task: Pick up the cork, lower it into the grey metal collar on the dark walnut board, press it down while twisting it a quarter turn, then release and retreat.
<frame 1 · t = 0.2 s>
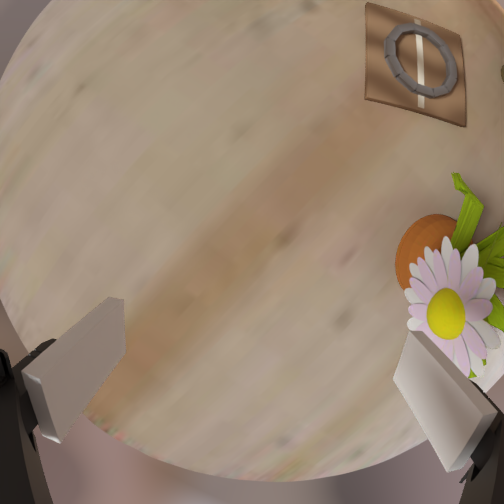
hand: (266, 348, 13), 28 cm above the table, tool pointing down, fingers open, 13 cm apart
socket board: (416, 63, 35), on the table
decorative plant: (439, 265, 41), on the table
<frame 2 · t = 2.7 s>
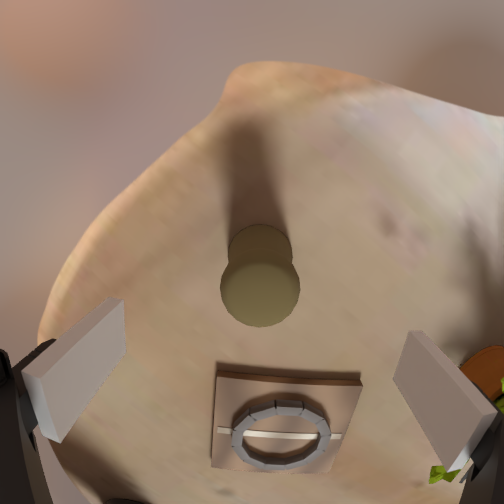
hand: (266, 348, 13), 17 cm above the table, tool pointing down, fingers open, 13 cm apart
socket board: (280, 428, 34), on the table
cork: (260, 256, 30), on the table
decorative plant: (485, 377, 33), on the table
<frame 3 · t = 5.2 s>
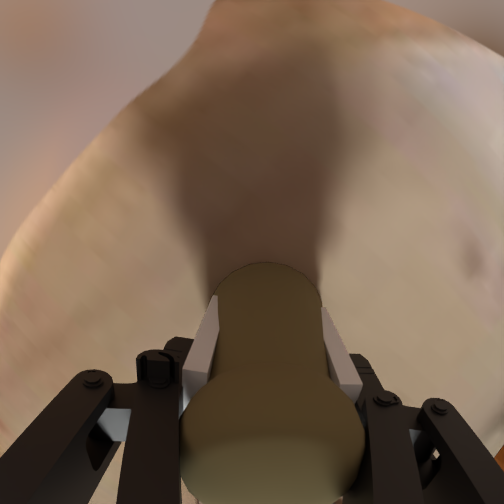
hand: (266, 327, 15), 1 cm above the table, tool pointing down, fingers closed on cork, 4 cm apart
cork: (266, 316, 17), on the table, touching gripper
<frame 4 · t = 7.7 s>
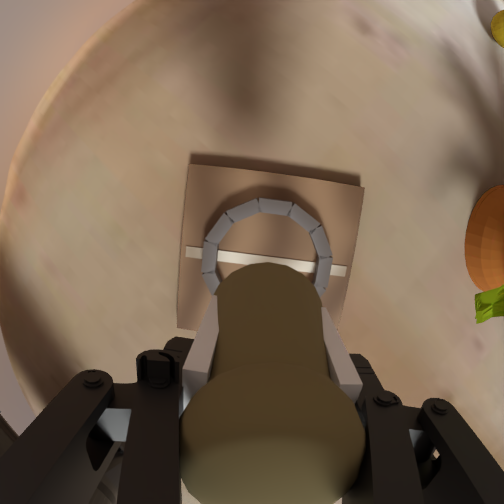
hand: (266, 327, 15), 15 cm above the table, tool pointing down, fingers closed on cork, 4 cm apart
socket board: (266, 258, 30), on the table
lemon: (494, 39, 24), on the table
cork: (265, 316, 17), point 14 cm above the table, touching gripper
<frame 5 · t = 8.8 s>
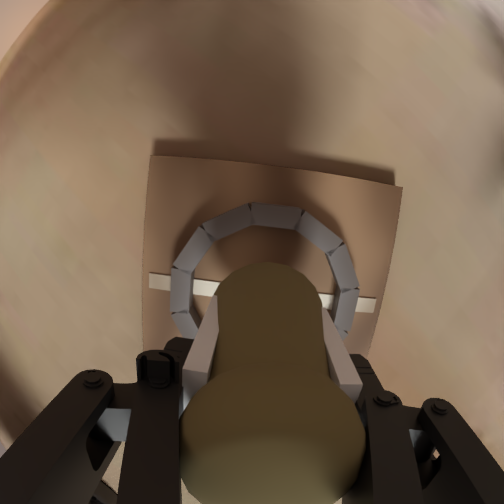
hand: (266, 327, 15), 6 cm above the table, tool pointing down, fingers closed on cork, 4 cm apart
socket board: (263, 288, 21), on the table
cork: (266, 316, 17), point 5 cm above the table, touching gripper
when the fingers open (3 cm above the table, at t = 10.0 s): cork stays where it is, resting on socket board.
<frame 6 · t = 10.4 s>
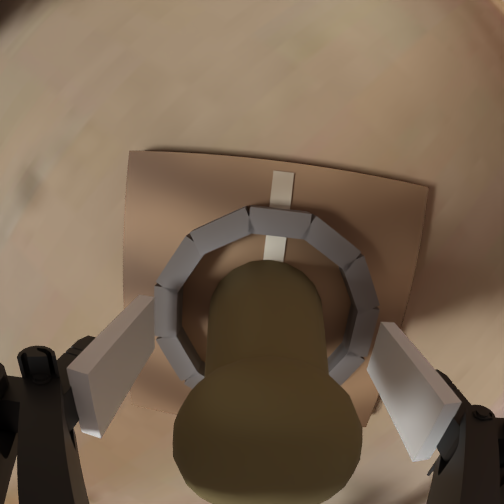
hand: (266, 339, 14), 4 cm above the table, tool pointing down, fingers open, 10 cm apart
socket board: (265, 307, 18), on the table
cork: (265, 313, 17), point 1 cm above the table, touching socket board
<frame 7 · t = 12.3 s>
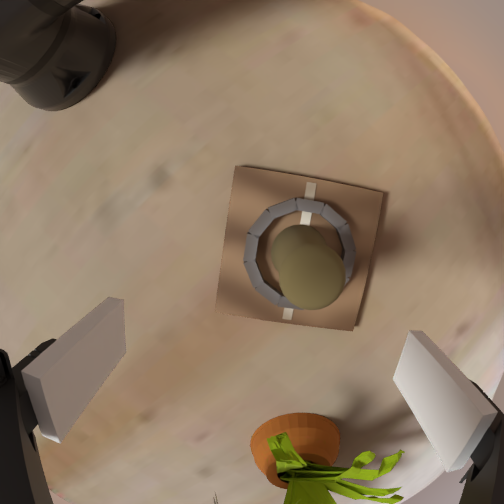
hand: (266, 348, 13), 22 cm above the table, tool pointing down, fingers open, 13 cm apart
socket board: (298, 251, 35), on the table
cork: (299, 252, 33), point 1 cm above the table, touching socket board
decorative plant: (302, 447, 40), on the table
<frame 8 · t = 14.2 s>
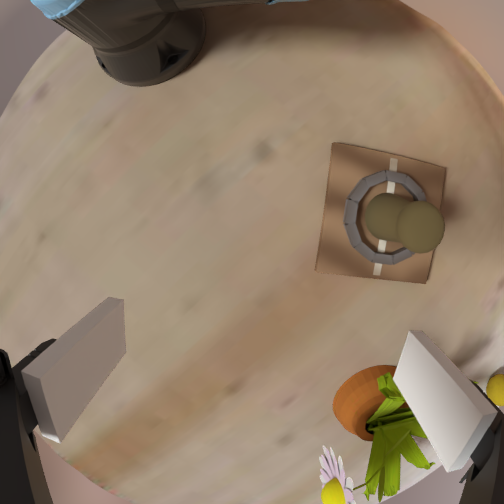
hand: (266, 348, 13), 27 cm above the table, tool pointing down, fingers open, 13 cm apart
socket board: (383, 216, 38), on the table
lemon: (489, 378, 44), on the table
cork: (386, 216, 37), point 1 cm above the table, touching socket board
decorative plant: (377, 401, 45), on the table
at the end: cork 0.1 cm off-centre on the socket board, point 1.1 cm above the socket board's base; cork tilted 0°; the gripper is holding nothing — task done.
